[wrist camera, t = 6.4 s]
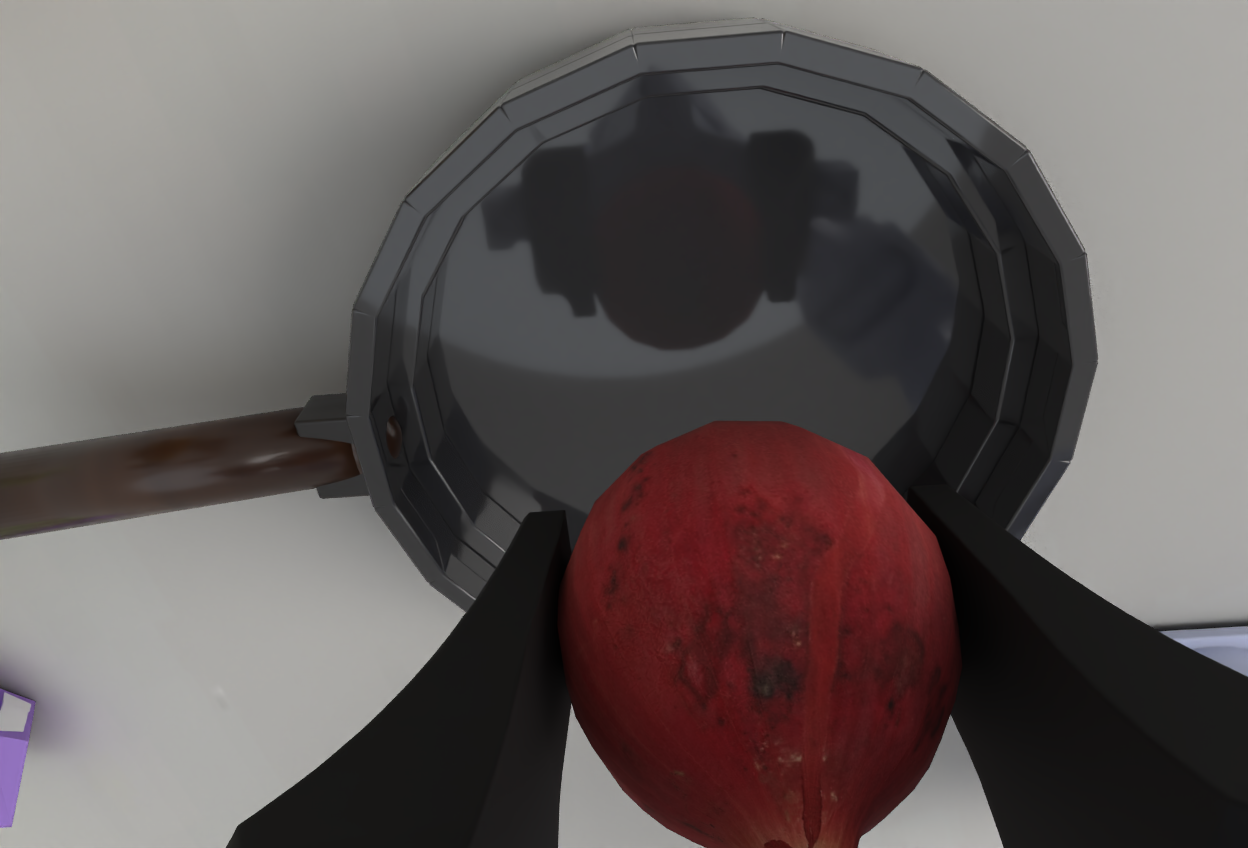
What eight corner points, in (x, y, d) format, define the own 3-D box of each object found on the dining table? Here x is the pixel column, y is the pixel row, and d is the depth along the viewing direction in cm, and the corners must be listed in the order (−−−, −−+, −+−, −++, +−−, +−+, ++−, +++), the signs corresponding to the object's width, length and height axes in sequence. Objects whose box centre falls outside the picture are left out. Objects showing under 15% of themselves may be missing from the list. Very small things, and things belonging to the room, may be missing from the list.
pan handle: (399, 377, 17) (359, 456, 15) (418, 452, 18) (384, 538, 16) (-21, 408, 18) (-136, 490, 15) (21, 480, 19) (-80, 569, 16)
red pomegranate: (562, 341, 13) (507, 745, 7) (897, 334, 13) (1188, 731, 7) (578, 592, 16) (552, 1048, 10) (851, 586, 16) (1020, 1039, 10)
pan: (1083, -15, 15) (1196, -6, 12) (966, 576, 23) (1018, 668, 20) (311, 53, 15) (240, 76, 12) (455, 608, 23) (432, 703, 20)
